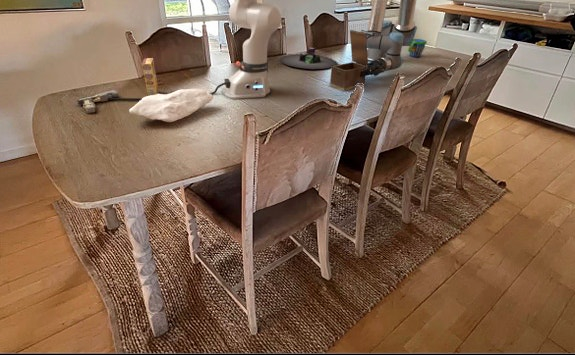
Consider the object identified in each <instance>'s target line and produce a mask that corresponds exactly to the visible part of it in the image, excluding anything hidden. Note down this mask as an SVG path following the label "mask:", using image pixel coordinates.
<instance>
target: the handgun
mask: <svg viewBox="0 0 575 355" xmlns="http://www.w3.org/2000/svg"><path fill="white" fill-rule="evenodd" d="M119 96H120V94H119V92H118V91H117V90H116V89H112V90H108V91H105V92H104V91H103V92H101V93H96V94H94V95H86V94H85V95H84V94H83V95H81V96H80V97H77V98H76V101H77V104H78V105H82V108H83V109H84V110H85V113H87V114H91V113H95V112H96V104H95V103H98V102H106V101H109V100H108V98H119Z"/></svg>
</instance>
